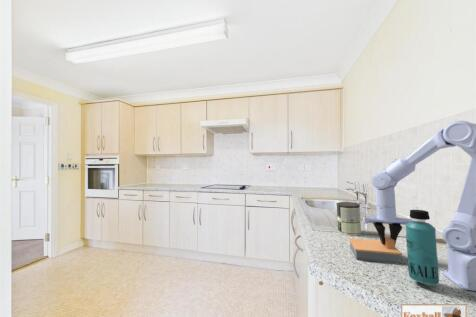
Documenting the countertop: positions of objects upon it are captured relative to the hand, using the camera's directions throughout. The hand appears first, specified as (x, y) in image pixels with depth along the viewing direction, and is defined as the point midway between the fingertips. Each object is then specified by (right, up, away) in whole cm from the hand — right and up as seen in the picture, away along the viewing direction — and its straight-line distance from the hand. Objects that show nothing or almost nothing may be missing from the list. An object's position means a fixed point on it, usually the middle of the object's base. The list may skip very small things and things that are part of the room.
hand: (388, 244), depth 74 cm
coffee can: (+1, -6, +28) cm, 28 cm away
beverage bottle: (-3, -4, -18) cm, 19 cm away
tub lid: (-5, -2, +1) cm, 5 cm away
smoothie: (+25, -5, +16) cm, 30 cm away
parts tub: (-4, -5, +1) cm, 6 cm away
